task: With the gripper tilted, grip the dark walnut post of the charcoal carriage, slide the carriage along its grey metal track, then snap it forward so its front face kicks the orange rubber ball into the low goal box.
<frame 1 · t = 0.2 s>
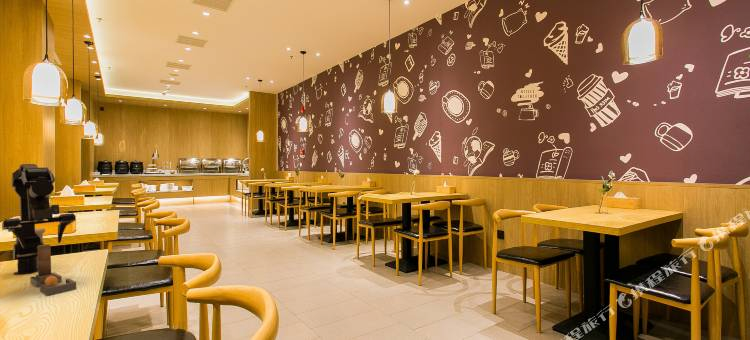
hand: (42, 245, 129), 16 cm above the table, tool pointing down, fingers open, 9 cm apart
slider: (44, 263, 137), point 7 cm above the table, slide at 0.0 cm
track: (45, 282, 138), on the table
goal: (58, 290, 128), on the table
ball: (51, 281, 133), point 2 cm above the table
handle: (38, 263, 165), on the table
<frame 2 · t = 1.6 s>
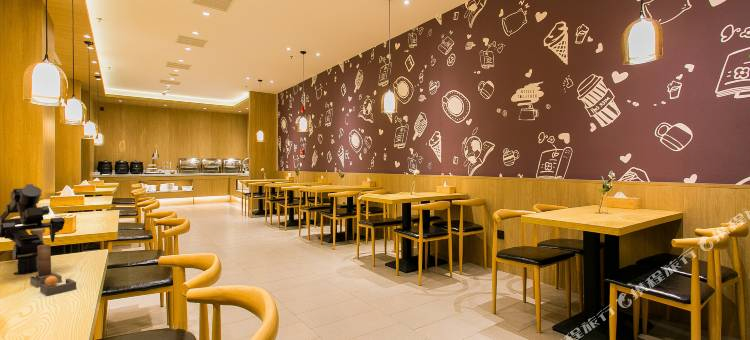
hand: (37, 243, 142), 13 cm above the table, tool tilted 45°, fingers open, 9 cm apart
nothing on the table moved.
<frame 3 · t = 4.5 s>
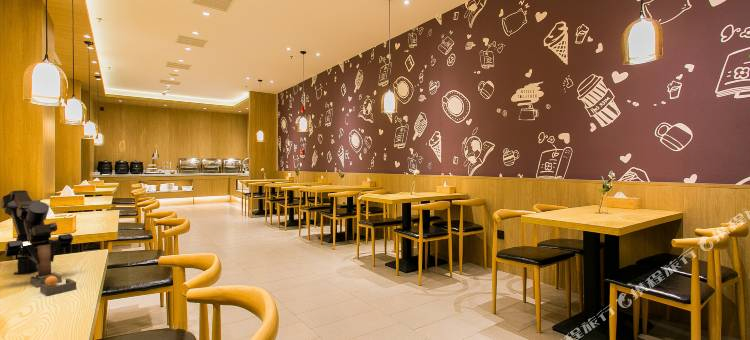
hand: (45, 262, 137), 8 cm above the table, tool tilted 45°, fingers closed on slider, 4 cm apart
slider: (44, 263, 137), point 7 cm above the table, slide at 0.0 cm, touching gripper
everything else where it was.
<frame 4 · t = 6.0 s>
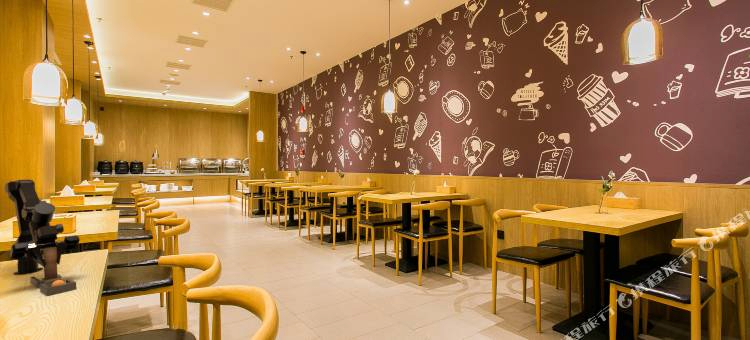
hand: (51, 265, 132), 8 cm above the table, tool tilted 45°, fingers closed on slider, 4 cm apart
slider: (51, 266, 133), point 7 cm above the table, slide at 7.4 cm, touching gripper
ball: (58, 285, 128), point 2 cm above the table, tilted 111°
everything else where it was.
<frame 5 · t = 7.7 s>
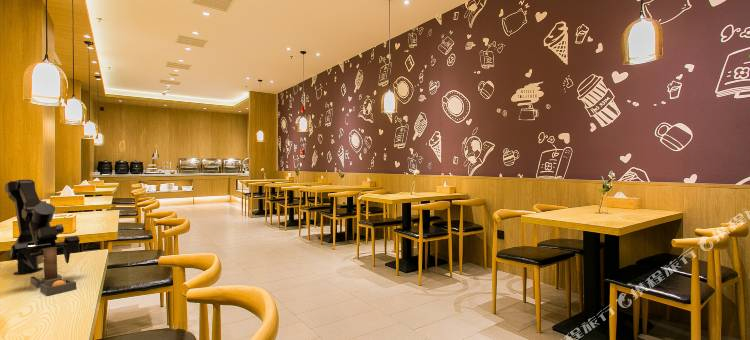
hand: (51, 265, 132), 8 cm above the table, tool tilted 45°, fingers open, 9 cm apart
slider: (51, 266, 133), point 7 cm above the table, slide at 7.4 cm
ball: (58, 285, 128), point 2 cm above the table, tilted 90°
everything else where it was.
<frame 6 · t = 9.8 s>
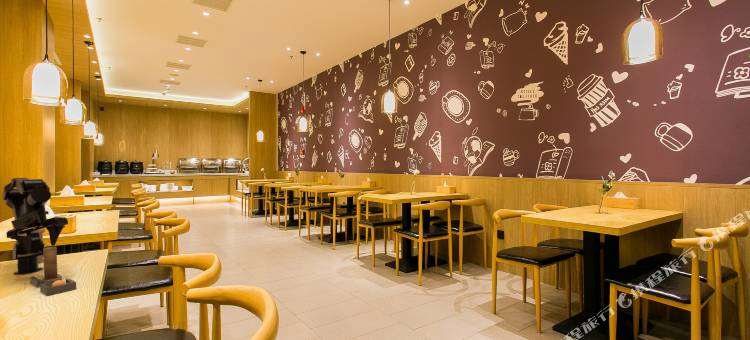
hand: (40, 249, 140), 12 cm above the table, tool tilted 20°, fingers open, 9 cm apart
ball: (58, 285, 128), point 2 cm above the table, tilted 103°
everything else where it was.
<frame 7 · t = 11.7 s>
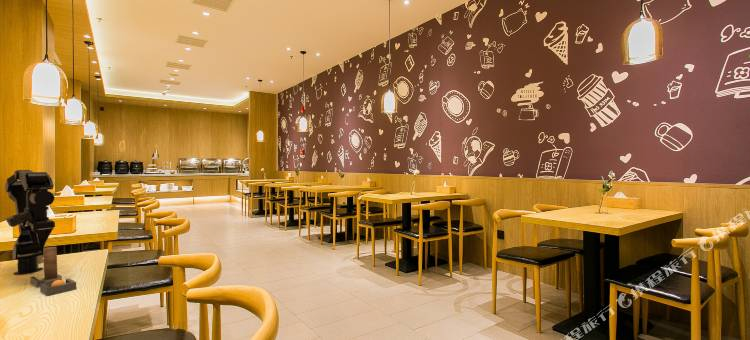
hand: (38, 245, 142), 13 cm above the table, tool pointing down, fingers open, 9 cm apart
ball: (58, 285, 129), point 2 cm above the table, tilted 114°
everything else where it was.
at the end: ball 0.4 cm from the goal (horizontally); slider slide at 7.4 cm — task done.
